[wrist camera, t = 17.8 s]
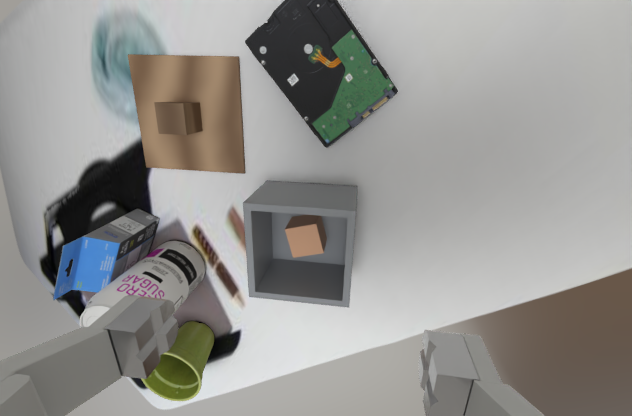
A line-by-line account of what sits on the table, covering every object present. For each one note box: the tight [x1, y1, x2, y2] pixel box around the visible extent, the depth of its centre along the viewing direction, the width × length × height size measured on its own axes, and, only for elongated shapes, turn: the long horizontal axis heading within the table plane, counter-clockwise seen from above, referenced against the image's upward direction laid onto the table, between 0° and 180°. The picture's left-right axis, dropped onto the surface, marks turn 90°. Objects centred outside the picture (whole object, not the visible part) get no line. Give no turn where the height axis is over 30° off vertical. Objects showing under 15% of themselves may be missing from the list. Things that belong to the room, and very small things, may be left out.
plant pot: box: [141, 321, 214, 401], centre depth 49 cm, size 9×9×9 cm
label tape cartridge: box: [53, 209, 159, 300], centre depth 42 cm, size 9×4×12 cm, turn 154°
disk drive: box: [245, 0, 398, 148], centre depth 35 cm, size 10×3×15 cm
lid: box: [128, 55, 245, 173], centre depth 38 cm, size 14×14×5 cm
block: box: [285, 215, 327, 258], centre depth 40 cm, size 4×4×4 cm
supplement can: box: [80, 241, 205, 327], centre depth 41 cm, size 8×8×15 cm
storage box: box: [243, 181, 357, 307], centre depth 39 cm, size 12×12×9 cm
